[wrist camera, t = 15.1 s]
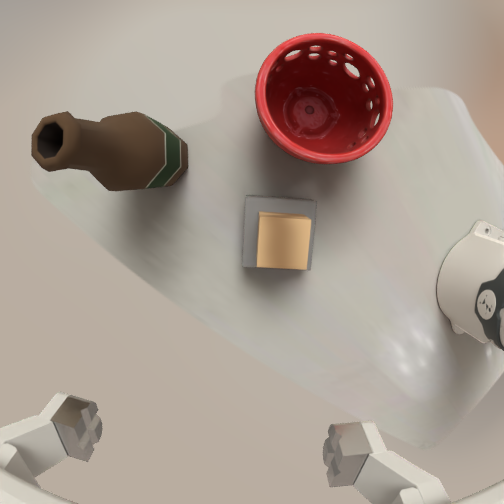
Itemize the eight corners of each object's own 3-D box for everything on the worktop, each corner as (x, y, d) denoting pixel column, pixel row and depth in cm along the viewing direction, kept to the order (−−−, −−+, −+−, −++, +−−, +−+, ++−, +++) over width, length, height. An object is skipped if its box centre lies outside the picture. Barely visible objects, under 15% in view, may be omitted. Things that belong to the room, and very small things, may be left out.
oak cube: (303, 214, 35) (311, 219, 30) (299, 257, 36) (306, 269, 31) (259, 211, 35) (259, 216, 30) (256, 254, 36) (256, 266, 31)
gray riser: (310, 199, 39) (316, 201, 35) (305, 261, 41) (310, 270, 37) (246, 195, 39) (245, 196, 35) (243, 258, 41) (242, 266, 37)
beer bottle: (200, 138, 37) (125, 87, 14) (178, 196, 39) (80, 225, 15) (145, 121, 37) (29, 70, 13) (126, 177, 38) (-5, 187, 15)
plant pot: (249, 73, 35) (247, 34, 23) (349, 69, 35) (381, 34, 23) (260, 172, 38) (263, 169, 26) (362, 164, 38) (403, 160, 26)
